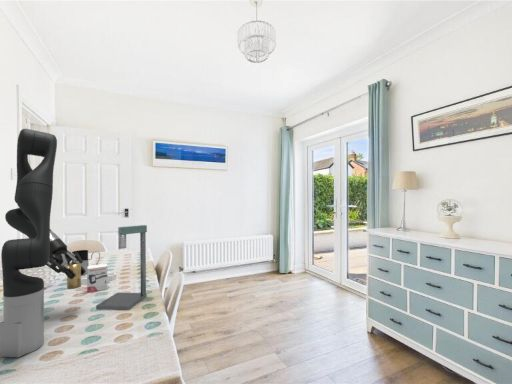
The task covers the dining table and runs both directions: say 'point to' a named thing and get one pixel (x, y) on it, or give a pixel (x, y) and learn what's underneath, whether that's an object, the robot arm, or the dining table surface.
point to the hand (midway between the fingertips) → (78, 275)
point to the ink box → (97, 278)
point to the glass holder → (85, 259)
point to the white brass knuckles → (109, 277)
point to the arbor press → (131, 299)
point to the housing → (76, 280)
